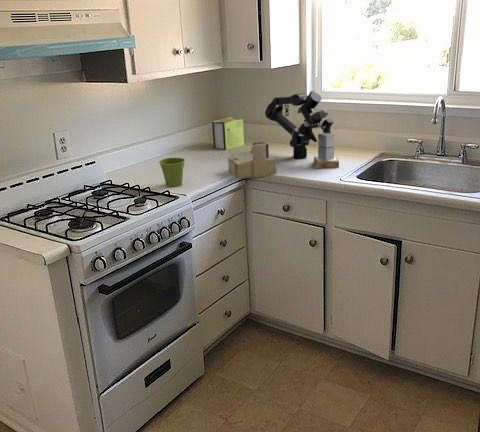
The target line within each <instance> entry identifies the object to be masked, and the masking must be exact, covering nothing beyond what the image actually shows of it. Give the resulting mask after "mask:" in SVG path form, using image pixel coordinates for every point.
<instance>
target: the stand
mask: <svg viewBox="0 0 480 432" xmlns="http://www.w3.org/2000/svg"><path fill="white" fill-rule="evenodd" d="M313 164H314V167H315V169H329V168H330V169H333V168H334V169H338V168H339V167H340V160H339V159H338V157H337V155H334V159H331V160H323V159H319V158H318V155H317V156H313Z"/></svg>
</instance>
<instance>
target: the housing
mask: <svg viewBox="0 0 480 432" xmlns="http://www.w3.org/2000/svg"><path fill="white" fill-rule="evenodd" d="M317 135H318V136H317V144H318V146H317V148H318V149H317V156H318V158H319V159H323V160H331V159H334V156H335V134H334V133H332V132H331V133H324V132H322V133H318V134H317Z"/></svg>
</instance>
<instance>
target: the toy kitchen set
mask: <svg viewBox="0 0 480 432" xmlns="http://www.w3.org/2000/svg"><path fill="white" fill-rule="evenodd" d="M266 144H267V143H266ZM266 144H257V145H253V144H252V145H251V148H250V150H249V153H250V154H252V159H251V160H245V159H243V160H242V159H240V158H239V157H237V156H236V155H232V156H231V155H230V156H228V157H227V163H228V164H227V165H228V172H229V173H231V174H232V175H233V176H234V177H236V178H237V179H239V180H243V179H249V178H251V179H252V178H259V177H266V176H271V175H276V174H277V159H276V158H275V157H269V158H266Z"/></svg>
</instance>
